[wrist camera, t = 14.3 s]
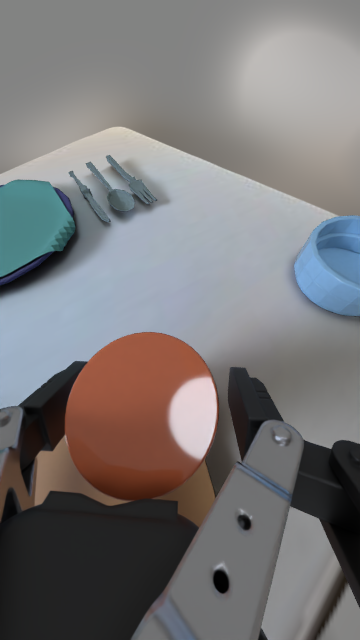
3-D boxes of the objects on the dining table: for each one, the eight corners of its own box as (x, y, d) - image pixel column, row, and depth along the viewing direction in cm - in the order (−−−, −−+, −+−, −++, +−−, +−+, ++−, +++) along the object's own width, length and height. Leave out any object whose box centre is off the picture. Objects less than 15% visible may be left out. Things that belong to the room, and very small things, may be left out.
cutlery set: (-82, 230, 28) (-103, 215, 26) (111, 159, 34) (106, 143, 32) (-78, 338, 20) (-110, 328, 18) (173, 218, 26) (171, 201, 24)
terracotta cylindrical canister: (216, 394, 15) (241, 366, 8) (183, 476, 13) (173, 550, 5) (153, 362, 16) (122, 312, 9) (114, 431, 14) (29, 441, 7)
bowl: (391, 262, 21) (431, 230, 18) (388, 336, 18) (438, 314, 14) (301, 238, 24) (320, 205, 20) (281, 299, 20) (300, 272, 16)
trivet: (184, 389, 16) (184, 387, 15) (233, 558, 12) (236, 569, 11) (-18, 452, 15) (-31, 454, 14) (-52, 671, 10) (-74, 694, 10)
